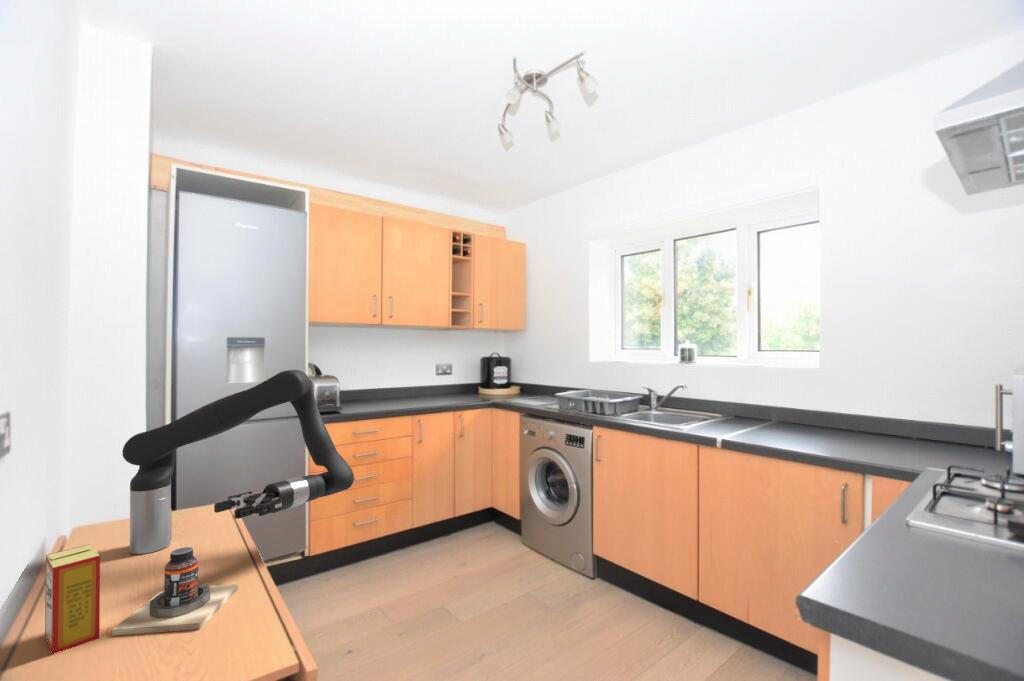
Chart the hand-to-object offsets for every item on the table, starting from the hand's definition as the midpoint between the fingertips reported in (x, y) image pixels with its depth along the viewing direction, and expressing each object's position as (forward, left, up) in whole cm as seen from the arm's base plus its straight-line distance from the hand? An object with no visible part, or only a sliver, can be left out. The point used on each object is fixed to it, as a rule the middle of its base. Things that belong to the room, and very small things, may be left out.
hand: (224, 511), depth 112 cm
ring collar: (+11, -3, -16) cm, 20 cm away
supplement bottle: (+11, -3, -16) cm, 20 cm away
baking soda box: (+19, -19, -17) cm, 32 cm away
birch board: (+11, -3, -17) cm, 21 cm away
